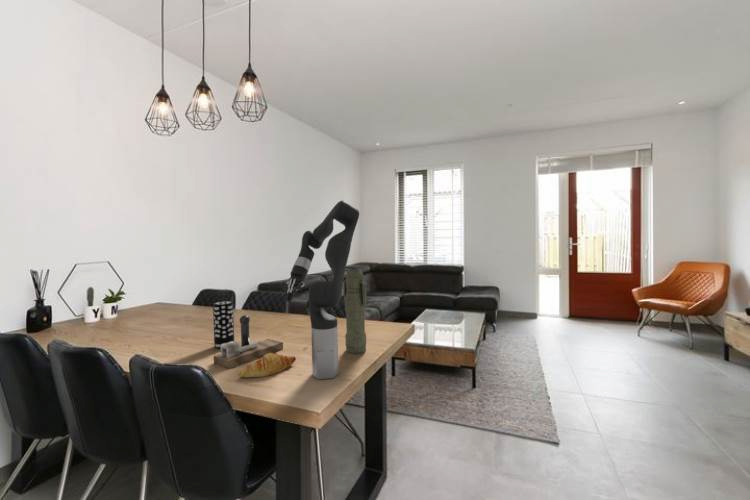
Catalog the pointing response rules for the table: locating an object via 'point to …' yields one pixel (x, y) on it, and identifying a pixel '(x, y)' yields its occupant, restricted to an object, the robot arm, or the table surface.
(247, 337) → the bolt
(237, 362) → the door board
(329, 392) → the table surface
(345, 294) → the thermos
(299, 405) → the table surface
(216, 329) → the spotted tube
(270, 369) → the croissant
